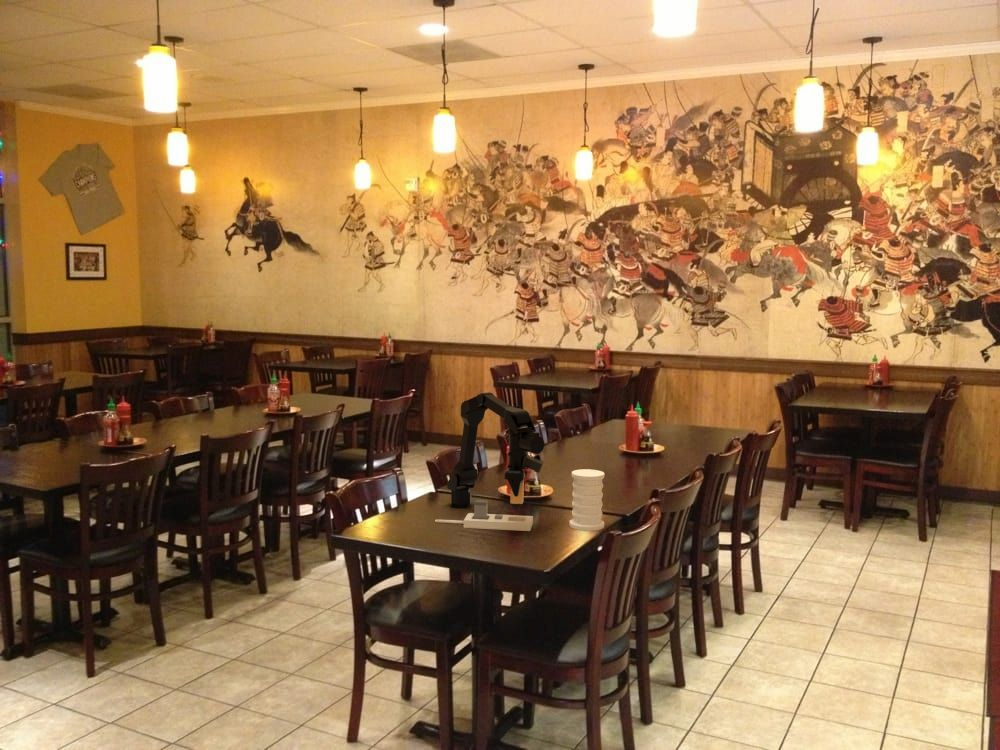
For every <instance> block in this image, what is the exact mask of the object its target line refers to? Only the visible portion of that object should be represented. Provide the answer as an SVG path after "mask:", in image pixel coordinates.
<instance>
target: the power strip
mask: <svg viewBox="0 0 1000 750" xmlns="http://www.w3.org/2000/svg"><path fill="white" fill-rule="evenodd" d="M434 521H435V523H437V524H438V523H439V524H440V523H441V524H458V525H459V524H460V525H462V524H463V528H464V529H483V530H485V529H486V530H498V531H499V530H502V531H503V530H504V531H521V532H530V531H531V530H532V527H533V524H534V516H533V515H516V514H513V515H512V514H498V513H497V514H496V513H487V520H486V519H474V512H468V513H467V515H466V516H465V517H464V519H463V520H456V519H453V520H452V519H435V520H434Z"/></svg>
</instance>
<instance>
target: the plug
mask: <svg viewBox="0 0 1000 750" xmlns="http://www.w3.org/2000/svg"><path fill="white" fill-rule="evenodd" d="M524 482H525V479H524V480H522V481H521V483H520V488H519V493H518V496H517V497H516V496H514V494H513V491H512V489H511V488H510V497H509V498H510V501H509V502H510V503H509V504H513V505H514V504H515V505H516V504H517V505H523V503H524V493H525V491H524V489H525V485H524V484H525V483H524Z"/></svg>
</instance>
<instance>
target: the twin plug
mask: <svg viewBox="0 0 1000 750" xmlns="http://www.w3.org/2000/svg"><path fill="white" fill-rule="evenodd" d="M473 504H474V505H473V507H474V508H473V513H474V519H486V520H487V514H488V512H489V511H488V510H489V508H488V500H486V499H485V500H483V499H475V500H474V503H473Z"/></svg>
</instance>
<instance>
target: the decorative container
mask: <svg viewBox="0 0 1000 750" xmlns="http://www.w3.org/2000/svg"><path fill="white" fill-rule="evenodd" d="M571 477H572V478H573V481H572V487H573V490H572V493H571V495H572V502H571V504H572V505H571V506H572V511H571V515H572V519H570V520H569V521H568V522H569V527H570V528H572V529H574V530H578V531H585V532H587V531H589V532H590V531H591V532H593V531H600V530H602V529H604V528H605V522H604V520H602V517H603V511H602V507H603V500H602V499H603V495H604V493H603V492H602V491H603V488H604V483H603V479H604V478H605V472H604V471H602V470H597V469H589V468H586V469H585V468H584V469H575V470H573V471H571Z"/></svg>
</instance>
